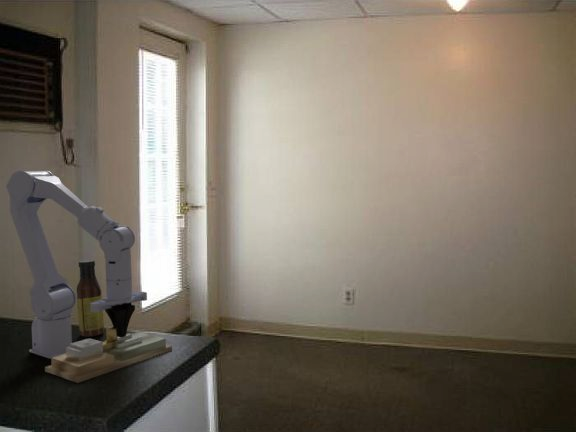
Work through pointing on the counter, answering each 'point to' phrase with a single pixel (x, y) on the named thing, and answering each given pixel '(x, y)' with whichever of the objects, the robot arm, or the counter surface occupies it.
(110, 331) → the bolt
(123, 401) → the counter surface
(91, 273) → the sauce bottle
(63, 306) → the robot arm
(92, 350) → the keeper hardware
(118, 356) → the door and jamb
